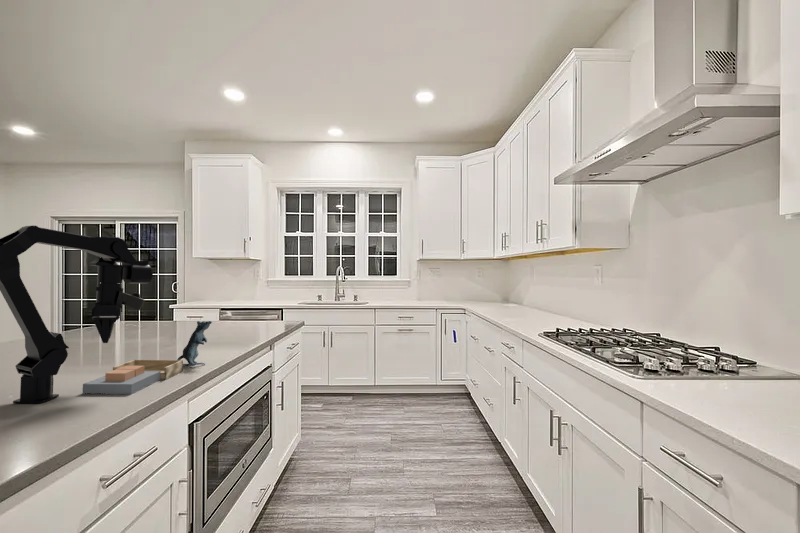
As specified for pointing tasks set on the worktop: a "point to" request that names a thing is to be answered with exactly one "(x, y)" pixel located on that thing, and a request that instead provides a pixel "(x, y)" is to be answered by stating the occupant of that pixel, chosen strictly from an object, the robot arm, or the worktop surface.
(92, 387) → the slate board
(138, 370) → the tile far
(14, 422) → the worktop surface
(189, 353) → the sculpture
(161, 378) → the tray
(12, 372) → the worktop surface
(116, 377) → the tile near
